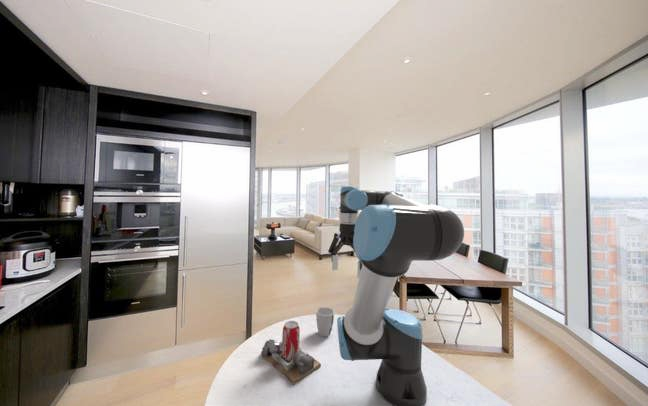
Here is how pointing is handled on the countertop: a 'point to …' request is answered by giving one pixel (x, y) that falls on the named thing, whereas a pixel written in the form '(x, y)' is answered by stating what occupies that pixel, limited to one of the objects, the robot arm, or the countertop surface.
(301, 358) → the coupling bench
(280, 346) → the shaft
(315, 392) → the countertop surface
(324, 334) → the cup
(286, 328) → the beverage can
